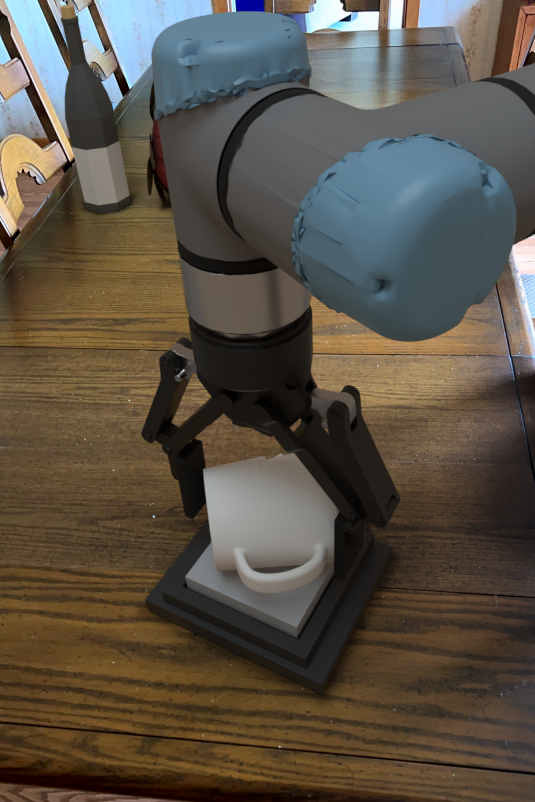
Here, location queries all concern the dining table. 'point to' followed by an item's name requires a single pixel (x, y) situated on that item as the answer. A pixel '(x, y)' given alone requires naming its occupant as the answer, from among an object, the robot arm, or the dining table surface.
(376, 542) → the black stepped plinth
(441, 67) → the dining table surface
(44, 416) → the dining table surface
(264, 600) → the grey tile on plinth
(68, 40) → the wine bottle
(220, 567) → the mug
